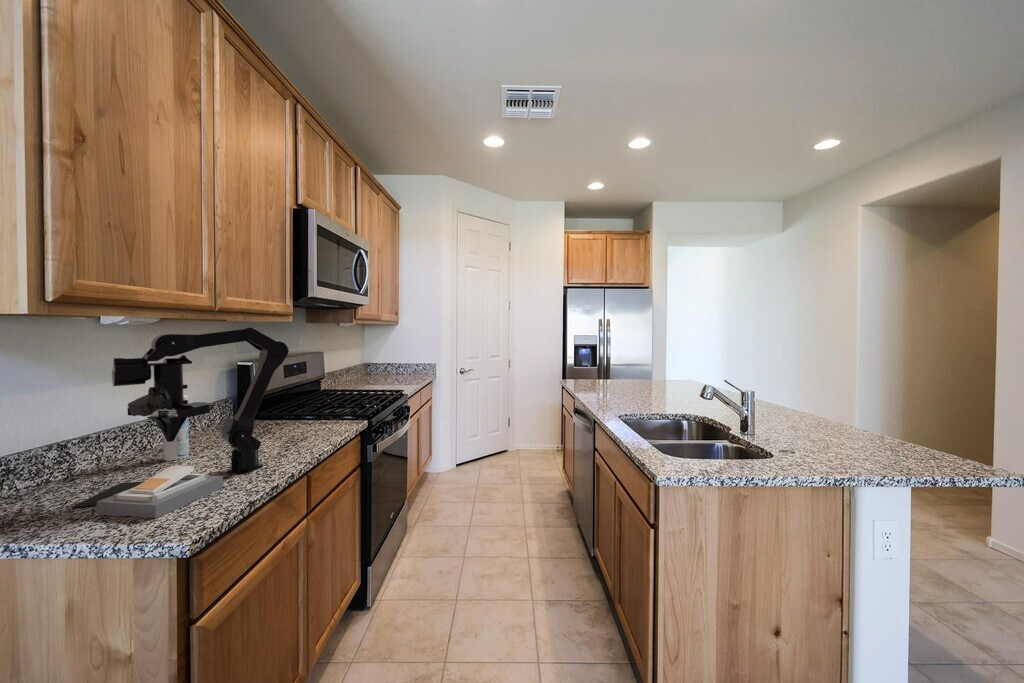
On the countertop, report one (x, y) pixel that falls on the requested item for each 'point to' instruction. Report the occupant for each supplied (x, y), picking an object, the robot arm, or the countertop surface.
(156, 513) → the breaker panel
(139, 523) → the countertop surface
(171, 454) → the spray can
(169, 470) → the rocker switch
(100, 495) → the smartphone
